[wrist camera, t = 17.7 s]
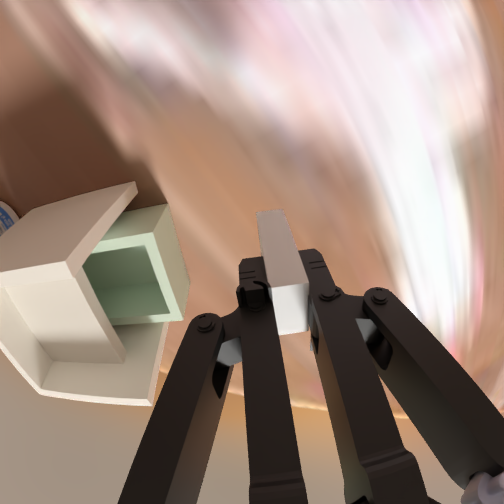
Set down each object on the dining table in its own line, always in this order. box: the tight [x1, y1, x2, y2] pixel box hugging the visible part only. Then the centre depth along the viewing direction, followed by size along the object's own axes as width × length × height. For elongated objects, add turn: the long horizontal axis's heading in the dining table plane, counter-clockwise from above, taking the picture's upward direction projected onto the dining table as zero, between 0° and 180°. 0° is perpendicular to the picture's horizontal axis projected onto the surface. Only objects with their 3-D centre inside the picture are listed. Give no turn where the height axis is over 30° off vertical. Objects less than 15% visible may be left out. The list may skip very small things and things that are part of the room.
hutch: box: [0, 181, 169, 406], centre depth 24 cm, size 15×14×14 cm
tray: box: [82, 203, 190, 325], centre depth 28 cm, size 10×14×6 cm
